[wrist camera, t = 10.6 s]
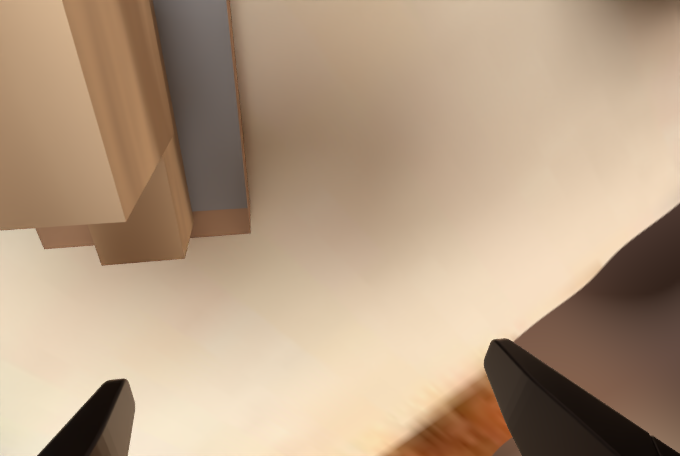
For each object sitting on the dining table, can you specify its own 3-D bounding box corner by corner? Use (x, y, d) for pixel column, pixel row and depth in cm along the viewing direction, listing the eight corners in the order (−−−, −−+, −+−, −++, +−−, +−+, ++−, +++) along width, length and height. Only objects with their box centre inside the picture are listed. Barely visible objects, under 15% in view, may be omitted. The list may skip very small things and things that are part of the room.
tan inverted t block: (131, -217, 11) (-146, -715, 3) (205, 220, 18) (173, 384, 10) (-36, -238, 10) (-894, -944, 2) (111, 227, 17) (2, 408, 10)
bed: (207, -215, 13) (199, -260, 11) (250, 209, 21) (250, 235, 19) (-115, -257, 11) (-207, -320, 9) (66, 221, 19) (42, 251, 17)
